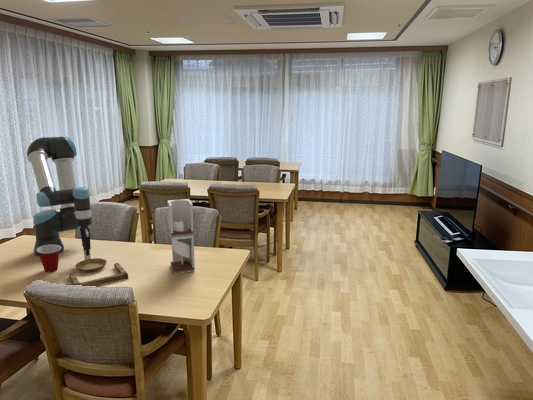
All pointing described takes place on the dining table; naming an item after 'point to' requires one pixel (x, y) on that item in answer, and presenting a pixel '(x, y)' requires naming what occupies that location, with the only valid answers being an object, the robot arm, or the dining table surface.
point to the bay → (101, 281)
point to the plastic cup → (49, 257)
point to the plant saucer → (91, 265)
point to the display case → (181, 235)
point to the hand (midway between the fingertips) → (87, 260)
